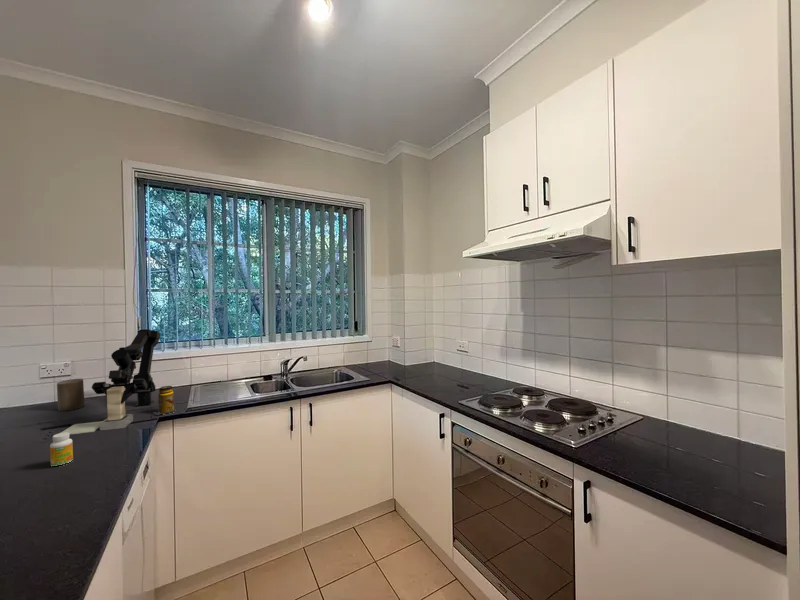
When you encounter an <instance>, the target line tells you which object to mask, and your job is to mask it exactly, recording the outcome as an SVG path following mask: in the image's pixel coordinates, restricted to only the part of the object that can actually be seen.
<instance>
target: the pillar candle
mask: <svg viewBox="0 0 800 600" xmlns="http://www.w3.org/2000/svg"><path fill="white" fill-rule="evenodd" d="M84 385H85V384H84V379H83V378H72V379H71V378H69V379H66V380H61V381H58V382H56V391H57V392H56V395H57V396H56V397H57V411H58V410H60V411H59V412H68V411H67V410H69V411H74V410H73V409H75V410H77V408H79V409H81V408H84V407H85V392H84V391H85V390H84ZM83 406H84V407H83Z"/></svg>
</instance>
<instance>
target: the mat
mask: <svg viewBox="0 0 800 600" xmlns="http://www.w3.org/2000/svg"><path fill="white" fill-rule="evenodd" d="M102 421H103V420H102ZM102 421H101V420H100V421H91V422H85V423H84V422H83V423H74V424H73V425H71V426H70V427H68V428H66V429H64V430H63V431H61V432H60V433H64V432H68V433H69V436H70V435H79V434H86V433H94V432H95V431H97V430H98V429H100V423H101V422H102Z"/></svg>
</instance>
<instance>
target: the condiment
mask: <svg viewBox="0 0 800 600" xmlns="http://www.w3.org/2000/svg"><path fill="white" fill-rule="evenodd" d="M173 388H174V387H173V385H164V386H161V387H159V388H158V390H159V391H158V411H159V412H160V413H165V412H170V411H173V410H174V409H175V397H174V396H175V393H174V391H173V390H174V389H173Z"/></svg>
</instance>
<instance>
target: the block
mask: <svg viewBox="0 0 800 600" xmlns="http://www.w3.org/2000/svg"><path fill="white" fill-rule="evenodd" d="M124 391H125V388H124V386H121V387H111V388H110V389H108V390H107V400H106V404H107V409H106V410H107V418H108V421H109V420H118V419H122V418H123V417H124V416H125V415H126V401H125V402H124V403H123V404H121V399H122V397H123V394H124Z"/></svg>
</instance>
